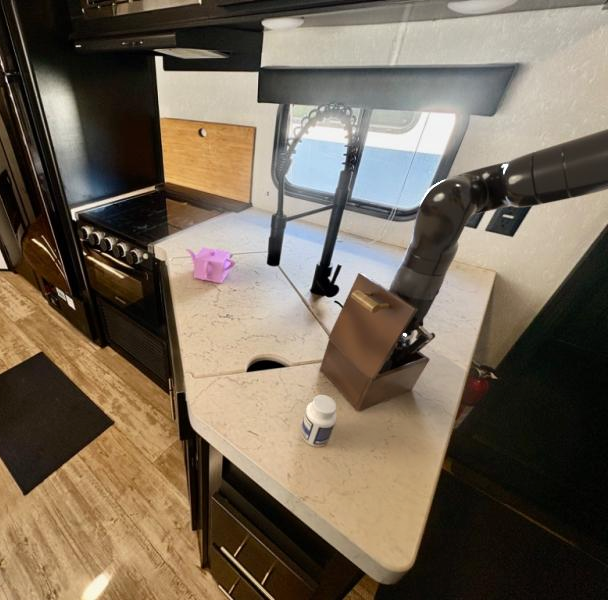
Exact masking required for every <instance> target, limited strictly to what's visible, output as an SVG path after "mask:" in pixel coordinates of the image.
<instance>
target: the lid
mask: <svg viewBox="0 0 608 600" xmlns="http://www.w3.org/2000/svg"><path fill="white" fill-rule="evenodd" d="M417 310H418V308H416V307H415V306H413V305H411V304H410V303H408V302H407V301H405V300H404V299H402V298H400V297H399V296H397V295H396V294H394V293H393V292H391V291H389V289H388V288H386V287H385V286H384V285H382V284H380V283H379V282H377V281H375V280H374V279H372V278H370V277H369V276H367V274H364V273H363V272H358V273H357V276H356V277H355V280H354V282H353V283H352V286H351V288H350V290H349V293H348V294H347V297H346V299H345V301H344V304H343V305H342V307H341V310H340V312H339V314H338V316H337V318H336V320H335V322H334V324H333V326H332V329H331V331H330V333H329V336H328V337H327V338H328V340H329V339H330V340H331V341H332V342H333V343H334V344H335V345H336V346H337V347H338V348H339V349H340V350H341V351H342V352H343V353H344V354H345V355H346V356H348V357H349V358H350V359H351V360H352V361H353V362H354V363H355V364H356V365H357V366H358V367H359V368H360V369H361V370H362V371H363V372H364V373H365V374H366V375H367V376H368V377H370V378H371V379H375V378H376V376H377V374H378V373H379V371H380V369H381V368H382V366H383V365H384V363H385V361H386V360H387V358H388V357H389V355H390V353H391V352H392V350H393V349H394V347H395V345H396V344H397V342H398V341H399V339H400V337H401V336H402V334H403V333H404V331H405V329H406V328H407V326H408V325H409V323H410V321H411V320H412V318H413V316H414V315H415V313H416V312H417Z"/></svg>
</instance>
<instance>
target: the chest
mask: <svg viewBox="0 0 608 600" xmlns="http://www.w3.org/2000/svg"><path fill="white" fill-rule="evenodd" d="M430 360H431V359H430V358H429V357H427V356H426V355H425V354H423V352H421V350H420V351H418V352H415V353H412V354H410V355H408V354H407V353H405V355H404V357H403V359H402V360H400V361H397V362H396V361H395V362H393V363H392V365H391V367H390V369H389V371H387V372H384V373H382V372H379V373H378V374H377V376H376V378H375V379H371V378H370V377H368V376H367V375H366V374H365V373H364V372H363V371H362V370H361V369H360V368H359V367H358V366H357V365H356V364H355V363H354V362H353V361H352V360H351V359H350V358H349V357H348V356H346V355H345V354H344V353H343V352H342V351H341V350H340V349H339V348H338V347H337V346H336V345H335V344H334V343H333V342H332V341H331V340H330V339H329V338H328V341H327V345H326V349H325V351H324V353H323V358H322V360H321V364H320V367H319V371H321V373H322V374H323V375H324V376H325V377H326V379H328V381H330V383H331V384H332V385H333V386H334V387H335V388H336V389H337V390H338V392H339V393H340V394H341V395H342V396H343V397H344V398H345V399H346V400H347V401H348V403H349V404H350V405H351V406H352V407H353V408H354V410H356V411H357V413H359V412H361V411H364V410H365V409H368V408H371V407H374V406H376V405H378V404H380V403H383V402H385V401H387V400H390V399H393V398H395V397H397V396H400V395H402V394H405V393H407V392H410V391H412V390H413V389H414V387H415V385H416V383H417V382H418V381H419V378H421V375H422V373H423V372H424V371H425V369H426V367H427V365H428V364H429V362H430Z"/></svg>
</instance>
